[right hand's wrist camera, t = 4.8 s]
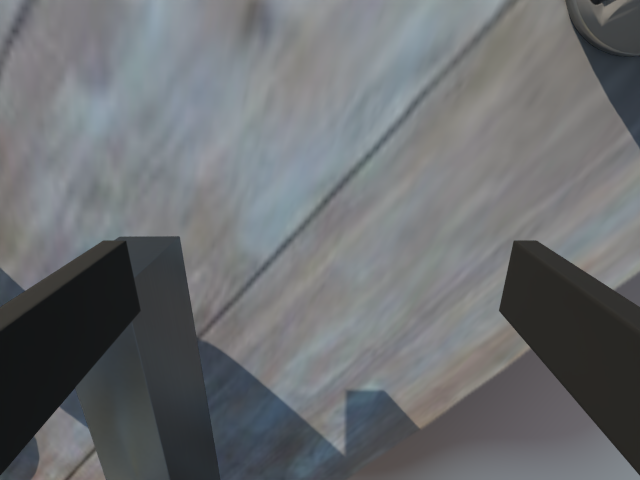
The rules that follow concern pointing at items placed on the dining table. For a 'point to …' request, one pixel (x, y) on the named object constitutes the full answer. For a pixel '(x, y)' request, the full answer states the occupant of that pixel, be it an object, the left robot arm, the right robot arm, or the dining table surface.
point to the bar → (152, 380)
